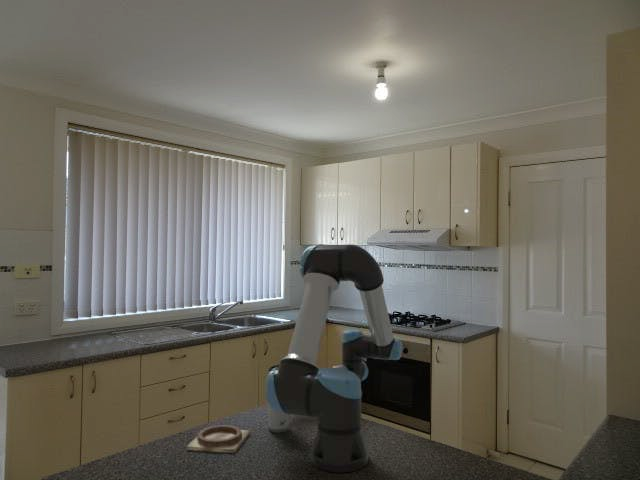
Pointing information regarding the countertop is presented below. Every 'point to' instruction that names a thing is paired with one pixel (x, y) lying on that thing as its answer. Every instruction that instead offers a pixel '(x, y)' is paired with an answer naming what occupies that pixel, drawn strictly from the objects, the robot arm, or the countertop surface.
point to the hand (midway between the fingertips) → (290, 390)
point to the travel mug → (277, 417)
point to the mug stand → (219, 439)
